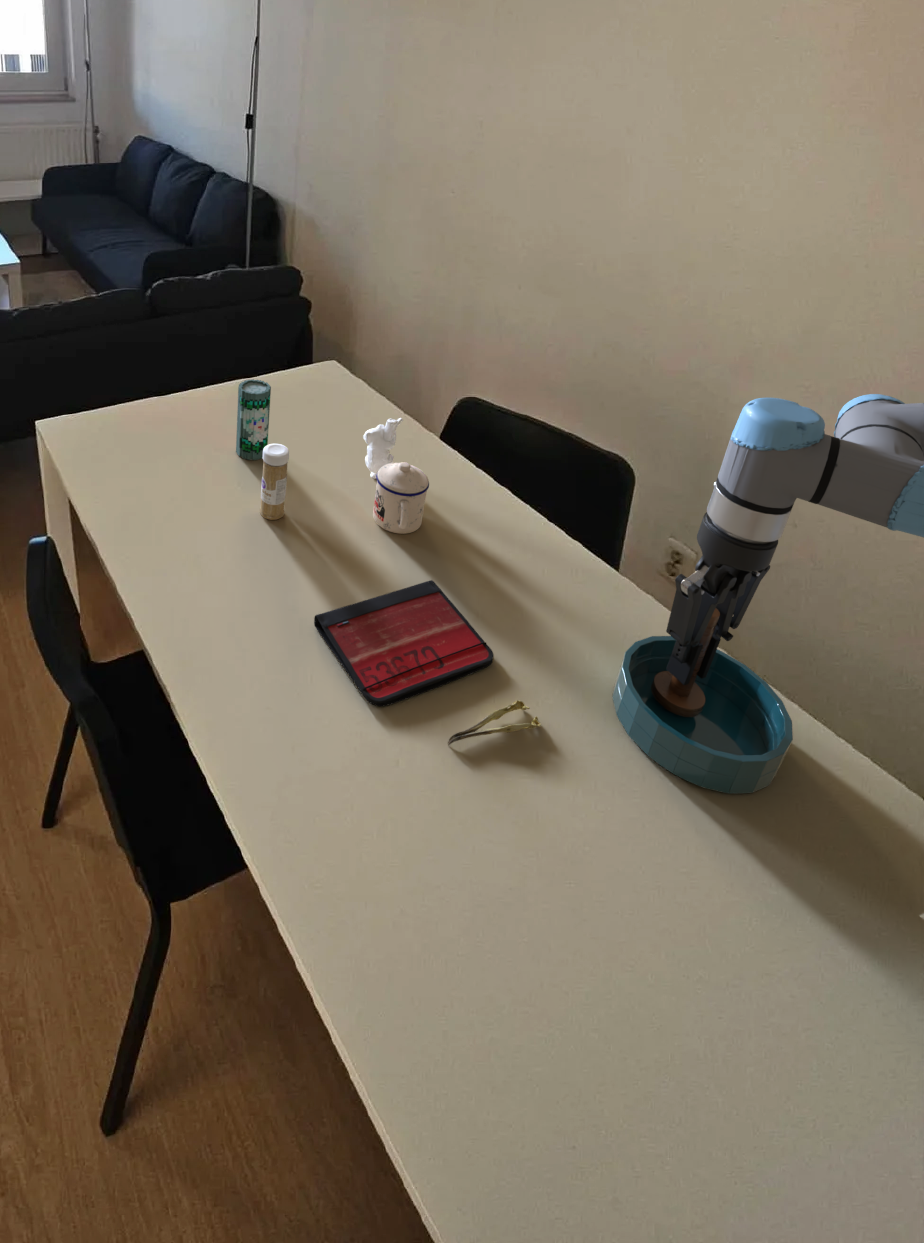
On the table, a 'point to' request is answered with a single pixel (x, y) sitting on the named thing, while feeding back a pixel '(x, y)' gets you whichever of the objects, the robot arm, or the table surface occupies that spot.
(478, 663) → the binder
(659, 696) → the plunger
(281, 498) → the sprinkles bottle
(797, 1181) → the table surface
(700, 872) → the table surface
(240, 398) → the can
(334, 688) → the table surface
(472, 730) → the jaw bone
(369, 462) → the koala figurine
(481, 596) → the table surface
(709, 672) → the bowl
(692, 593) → the robot arm
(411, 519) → the teacup with lid
